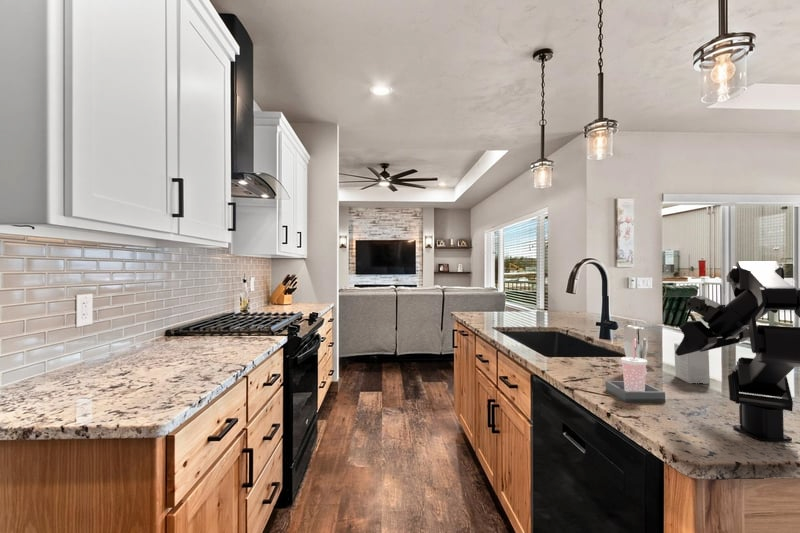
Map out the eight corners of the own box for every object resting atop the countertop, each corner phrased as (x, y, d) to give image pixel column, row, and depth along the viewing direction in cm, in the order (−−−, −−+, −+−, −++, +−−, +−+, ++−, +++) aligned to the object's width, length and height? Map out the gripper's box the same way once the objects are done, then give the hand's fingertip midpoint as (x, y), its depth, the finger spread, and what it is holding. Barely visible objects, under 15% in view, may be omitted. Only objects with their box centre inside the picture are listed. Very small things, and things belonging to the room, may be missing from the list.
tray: (665, 402, 97) (665, 392, 97) (625, 402, 98) (625, 392, 98) (642, 389, 107) (641, 380, 107) (605, 389, 108) (605, 381, 108)
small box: (710, 384, 111) (709, 348, 111) (688, 383, 112) (687, 348, 112) (694, 377, 119) (694, 343, 119) (674, 376, 120) (674, 342, 120)
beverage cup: (632, 388, 106) (631, 338, 106) (653, 394, 101) (652, 341, 101) (616, 391, 104) (615, 339, 104) (637, 397, 98) (636, 343, 98)
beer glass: (618, 372, 126) (617, 326, 126) (632, 369, 129) (631, 324, 129) (639, 377, 119) (638, 329, 119) (653, 374, 122) (652, 327, 122)
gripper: (733, 283, 93) (684, 323, 103) (688, 285, 85) (640, 328, 95) (777, 319, 85) (720, 358, 95) (731, 325, 78) (674, 367, 88)
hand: (688, 352), depth 93 cm, fingers open, 9 cm apart
